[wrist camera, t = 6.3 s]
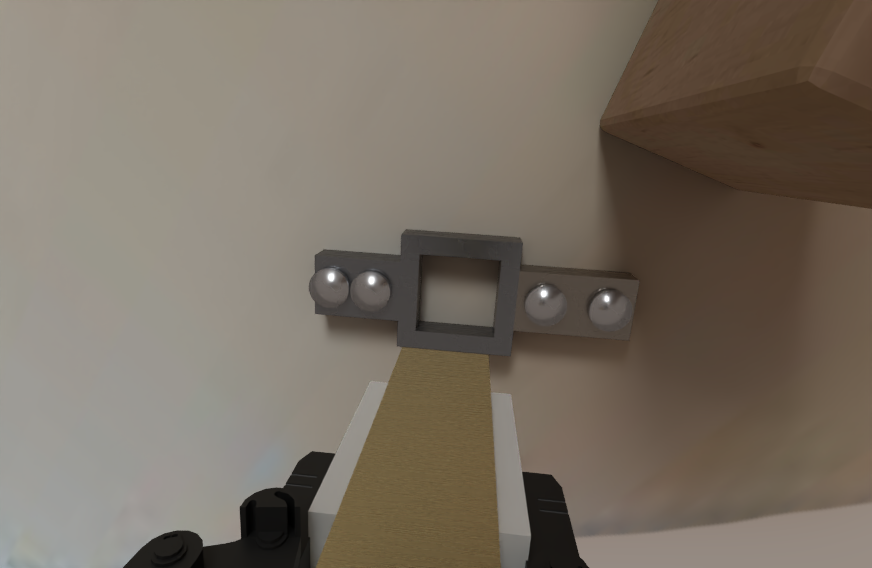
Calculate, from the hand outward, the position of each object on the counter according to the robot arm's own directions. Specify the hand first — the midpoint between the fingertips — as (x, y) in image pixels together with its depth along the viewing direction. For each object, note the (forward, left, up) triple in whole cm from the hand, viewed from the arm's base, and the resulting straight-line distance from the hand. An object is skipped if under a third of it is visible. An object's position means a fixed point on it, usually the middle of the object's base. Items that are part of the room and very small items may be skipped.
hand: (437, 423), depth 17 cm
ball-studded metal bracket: (0, 0, -17) cm, 17 cm away
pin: (0, 0, -3) cm, 3 cm away
